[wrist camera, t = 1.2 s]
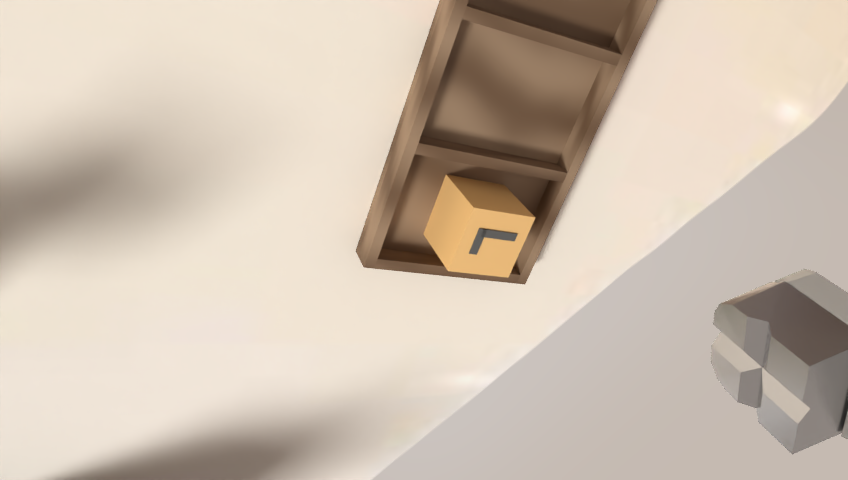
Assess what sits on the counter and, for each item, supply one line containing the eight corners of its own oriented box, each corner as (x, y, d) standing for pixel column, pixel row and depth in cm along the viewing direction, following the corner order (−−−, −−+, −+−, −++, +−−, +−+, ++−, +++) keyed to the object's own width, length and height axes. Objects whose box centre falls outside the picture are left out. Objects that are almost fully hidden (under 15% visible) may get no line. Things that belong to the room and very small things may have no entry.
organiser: (495, -166, 39) (512, -164, 37) (673, -85, 46) (694, -80, 44) (355, 251, 51) (363, 267, 49) (513, 269, 57) (525, 284, 55)
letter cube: (446, 174, 49) (474, 208, 45) (504, 184, 52) (536, 218, 48) (423, 234, 51) (448, 271, 47) (480, 241, 54) (508, 278, 50)
